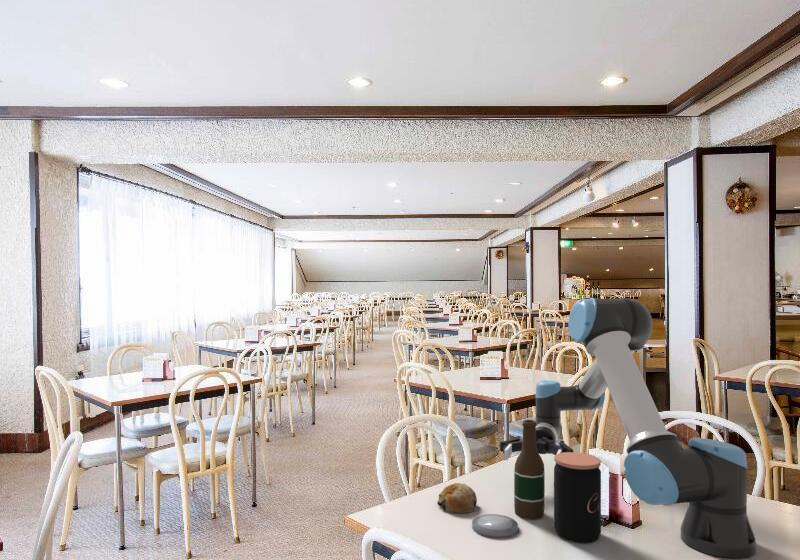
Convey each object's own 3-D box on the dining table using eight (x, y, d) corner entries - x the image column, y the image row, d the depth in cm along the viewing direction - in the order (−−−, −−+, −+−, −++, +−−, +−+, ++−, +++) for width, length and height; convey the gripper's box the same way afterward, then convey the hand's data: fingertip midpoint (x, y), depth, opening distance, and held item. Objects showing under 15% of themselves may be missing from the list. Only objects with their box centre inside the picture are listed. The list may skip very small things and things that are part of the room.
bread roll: (468, 529, 147) (481, 502, 147) (432, 509, 149) (445, 482, 149) (471, 514, 157) (483, 489, 157) (437, 495, 159) (449, 470, 158)
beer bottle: (548, 520, 144) (548, 424, 145) (517, 520, 144) (517, 424, 145) (541, 508, 152) (541, 417, 152) (511, 508, 152) (511, 417, 152)
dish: (514, 519, 145) (514, 513, 145) (521, 538, 134) (521, 532, 134) (470, 518, 145) (470, 513, 145) (474, 537, 134) (474, 531, 134)
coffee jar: (594, 548, 129) (594, 468, 129) (548, 537, 135) (548, 460, 135) (605, 531, 138) (605, 456, 138) (561, 521, 144) (561, 449, 144)
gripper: (586, 455, 168) (579, 478, 149) (502, 446, 178) (485, 466, 158) (586, 430, 168) (579, 449, 149) (502, 422, 178) (485, 439, 158)
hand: (530, 458), depth 153 cm, fingers open, 13 cm apart
